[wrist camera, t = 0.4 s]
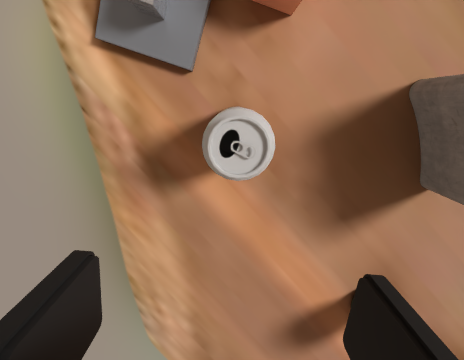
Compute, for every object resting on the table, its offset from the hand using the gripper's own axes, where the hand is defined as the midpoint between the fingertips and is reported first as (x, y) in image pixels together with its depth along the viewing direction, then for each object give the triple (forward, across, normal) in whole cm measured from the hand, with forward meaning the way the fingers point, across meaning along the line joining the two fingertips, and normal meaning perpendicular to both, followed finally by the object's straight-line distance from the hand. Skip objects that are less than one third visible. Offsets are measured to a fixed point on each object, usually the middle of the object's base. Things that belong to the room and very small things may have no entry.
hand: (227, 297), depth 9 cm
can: (+29, -1, -2) cm, 29 cm away
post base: (+29, +10, -17) cm, 35 cm away
